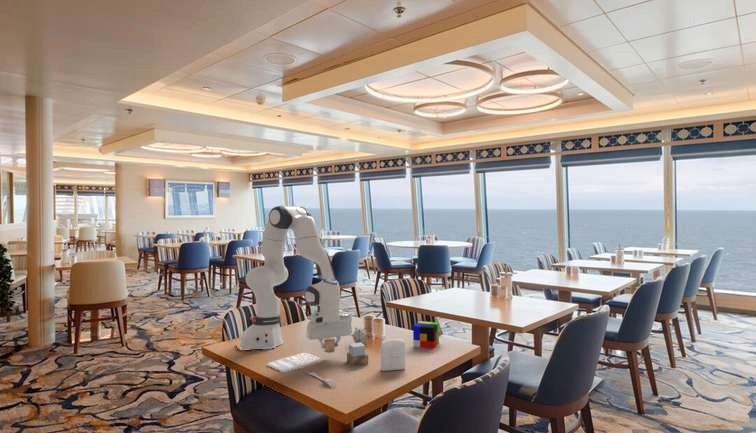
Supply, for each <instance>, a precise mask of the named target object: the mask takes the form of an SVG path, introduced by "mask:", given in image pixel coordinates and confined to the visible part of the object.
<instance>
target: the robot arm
mask: <svg viewBox="0 0 756 433" xmlns="http://www.w3.org/2000/svg"><path fill="white" fill-rule="evenodd" d="M265 224H266V225H265V227H264V230H263V235H262V240H261V241H262V242H261V245H260V246H261V247H260V254H261V255H262V256H263V258H264V264H263V265H260V266H256V267H254V268H251V269H250V270H248V271H247V273H246V275H245V283H246V285H247V287H248V288H249V289H251V291H252V292H253V295H254V297H255V303H256V304H255V306H256V315H255V316H254V315H251V316H250V318H249V319H250V320H251V322H252V324H251V325H250V326H248V327H247V328H246V329H245V330H243V332H242V333H241V335H240V341H239V342H240V347H242V350H244V349H263V350H272V348H274V349H276V348H277V347H279V346H281V345H282V344H284V340H283V336H282V332H281V324H282V318H281V317H282V316H281V314H280V298H279V297H278V296H277V295H276V294H275V291H274V287H276V286H280V285H281V284H283V283H285V282H286V281H287V280H288V278H289V271H288V268H287V267H286V266H285V261H284V253H285V247H286V246H285V245H286V241H287V240H286V239H287V233H288V232H289V230H292V231H293V233H294V241H295V246H296V250H297V252H298V254H299V255H300V256H301V257H303V258H304V259H306V260H309V261H312V262H314V263H315V264H317V265H318V267H319V269H320V272H321V275H322V277H323V278H322V279H321V281H320V282H317V283H314V284H311V285H307V287H306V288H305V290H304V294H303V295H304V296H303V297H304V301H305V303H306V304H307V305H308V306H310V307H316V306H318V307H319V311H317V312H315V313H313V314H310V315H309V316H308V320H309V321H308V323H307V326H306V338H307V339H308V340H310V341H314V340H317V341H318V343H320V349H324V348H325V344H324V342H323V341H324V339H327V338H336V339H335V348H336V347H339V342H340V341H341V339H342V338H341V337H346V336H347V337H348V336H351V335H353V334H352V333H353V326H352V322H353V318H352V316H351V315H350V314H348V313H347V314H341V306H340V301H341V298H342V289H341V286H340V283H339V281H338V280H337V277H336V274H335V271H334V268H333V265H332V261H331V258H330V254H329V253H328V251H327V250H326V249H325V248H324V246H323V244H322V242H321V240H320V234H319V230H318V226H317V224H316V221H315V219H314V218H313V216H312V214H311V212H310V210H309V209H308V208H305V207H303V206H296V205H285V206H284V205H278V206H274V207H272V209H271V210H270V211H269V214H268V219H267V222H266V223H265ZM276 346H277V347H276ZM238 347H239V346H238ZM240 347H239V349H240ZM275 347H276V348H275Z"/></svg>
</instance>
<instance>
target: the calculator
mask: <svg viewBox="0 0 756 433" xmlns="http://www.w3.org/2000/svg"><path fill="white" fill-rule="evenodd" d="M322 361H323V359H322V358H321V357H319V356H316V355H313V354H310V353H309V352H308V353H307V352H301V353H298V354H294V355H291V356H287V357H283V358H280V359H277V360H276V359H275V360H273V361H270V362H269V361H268V362H267V364H266V366H267V365H268V366H270V367H272V368H271V369H273V368H274V369H273V370H275V369H276V370H275V371H277V370H279V371H281V372H280V373H282V372H286V373H289V372H292V371H291V370H293V371H296V370H298V368H299V369H302V368H305V366H306V367H308V366H312V365H315V364H319V363H321V362H322ZM268 366H267V367H268ZM270 367H269V368H270ZM295 369H296V370H295ZM279 371H278V372H279ZM288 371H289V372H288Z"/></svg>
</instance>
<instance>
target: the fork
mask: <svg viewBox="0 0 756 433" xmlns="http://www.w3.org/2000/svg"><path fill="white" fill-rule="evenodd" d="M307 374H308V375H310V376H313V377H314V378H317V379H318V380H320V381H322V382H326V383H327V384H328V385H329V387H330V388H331V389H332V390H333V389H337V388H338V387H337V385H336V384H335V382H334V381H333V379H332V378H326V379H323V378H322V377H321V376H319V375H318V374H317V373H316V372H314V371H313V372H312V373H311V372H308V373H307Z"/></svg>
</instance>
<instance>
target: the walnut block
mask: <svg viewBox="0 0 756 433" xmlns="http://www.w3.org/2000/svg"><path fill="white" fill-rule="evenodd" d="M346 362H347V363H348V364H350V365H351V367H357V366H363V365H368V364H369V354H368V353H366V352H365V355H362V356H356V357H353V356H352V355H351V354H349V352H347V353H346Z"/></svg>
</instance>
